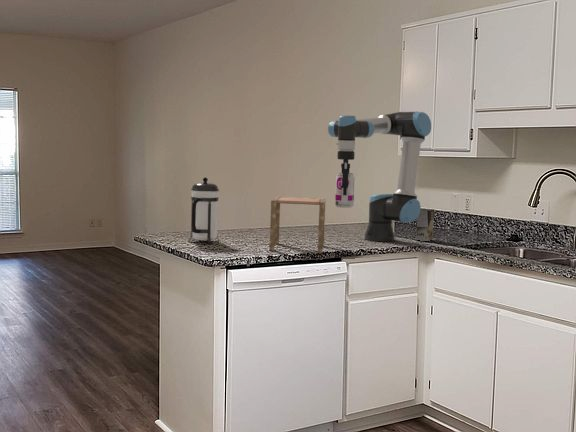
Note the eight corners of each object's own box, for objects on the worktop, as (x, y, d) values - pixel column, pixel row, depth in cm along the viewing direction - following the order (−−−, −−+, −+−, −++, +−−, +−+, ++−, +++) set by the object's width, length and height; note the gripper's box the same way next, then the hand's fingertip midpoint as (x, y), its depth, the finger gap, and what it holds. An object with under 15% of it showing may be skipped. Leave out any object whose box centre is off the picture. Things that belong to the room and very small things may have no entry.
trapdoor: (319, 204, 318) (319, 198, 318) (318, 207, 300) (318, 201, 300) (280, 202, 319) (281, 197, 319) (277, 205, 301) (277, 200, 301)
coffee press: (181, 240, 325) (183, 176, 322) (214, 239, 331) (216, 176, 328) (191, 245, 309) (193, 178, 306) (225, 244, 315) (227, 178, 312)
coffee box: (428, 242, 346) (430, 210, 345) (415, 241, 349) (417, 209, 347) (432, 240, 354) (434, 209, 353) (420, 239, 357) (422, 208, 356)
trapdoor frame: (323, 245, 322) (325, 198, 320) (322, 253, 299) (324, 202, 297) (274, 243, 324) (276, 196, 322) (269, 250, 301) (271, 200, 299)
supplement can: (348, 208, 303) (349, 174, 301) (331, 206, 307) (332, 173, 306) (356, 206, 310) (357, 173, 308) (340, 205, 314) (341, 172, 312)
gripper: (337, 150, 316) (336, 199, 319) (337, 150, 295) (335, 203, 298) (354, 150, 316) (352, 199, 318) (355, 151, 295) (353, 204, 297)
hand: (344, 201), depth 308 cm, fingers closed on supplement can, 8 cm apart
